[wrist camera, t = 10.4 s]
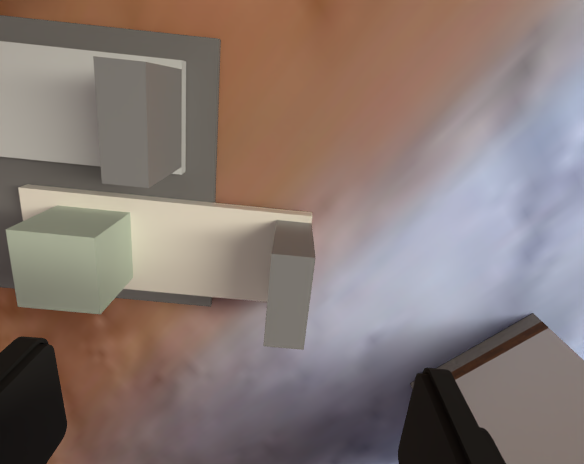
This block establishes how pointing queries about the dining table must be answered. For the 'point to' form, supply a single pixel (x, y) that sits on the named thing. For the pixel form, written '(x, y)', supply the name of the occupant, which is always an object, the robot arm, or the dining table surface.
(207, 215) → the block strip
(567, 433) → the banded white pillar
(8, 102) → the empty strip
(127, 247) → the block
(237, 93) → the dining table surface
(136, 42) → the mat
